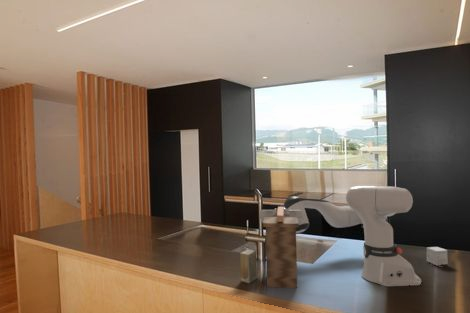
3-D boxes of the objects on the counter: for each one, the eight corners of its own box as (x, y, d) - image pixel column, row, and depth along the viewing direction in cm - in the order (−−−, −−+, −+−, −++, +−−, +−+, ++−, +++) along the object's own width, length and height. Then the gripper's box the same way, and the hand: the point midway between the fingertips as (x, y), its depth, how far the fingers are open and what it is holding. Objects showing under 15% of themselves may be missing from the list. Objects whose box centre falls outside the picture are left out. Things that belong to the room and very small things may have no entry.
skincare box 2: (436, 267, 143) (436, 251, 143) (426, 262, 149) (426, 247, 149) (448, 266, 144) (447, 250, 144) (437, 261, 150) (437, 246, 150)
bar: (283, 211, 144) (283, 206, 144) (283, 221, 124) (283, 215, 124) (278, 211, 145) (278, 206, 145) (277, 221, 124) (277, 215, 124)
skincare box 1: (249, 276, 137) (248, 248, 137) (257, 278, 135) (256, 250, 135) (240, 281, 132) (239, 252, 132) (248, 283, 130) (247, 254, 130)
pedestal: (298, 277, 135) (297, 217, 135) (299, 289, 123) (298, 223, 123) (266, 276, 137) (264, 217, 137) (264, 287, 125) (262, 223, 125)
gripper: (303, 226, 149) (304, 216, 137) (260, 225, 152) (258, 216, 140) (302, 213, 152) (304, 203, 140) (260, 213, 155) (258, 203, 143)
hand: (280, 209), depth 140 cm, fingers closed on bar, 2 cm apart
